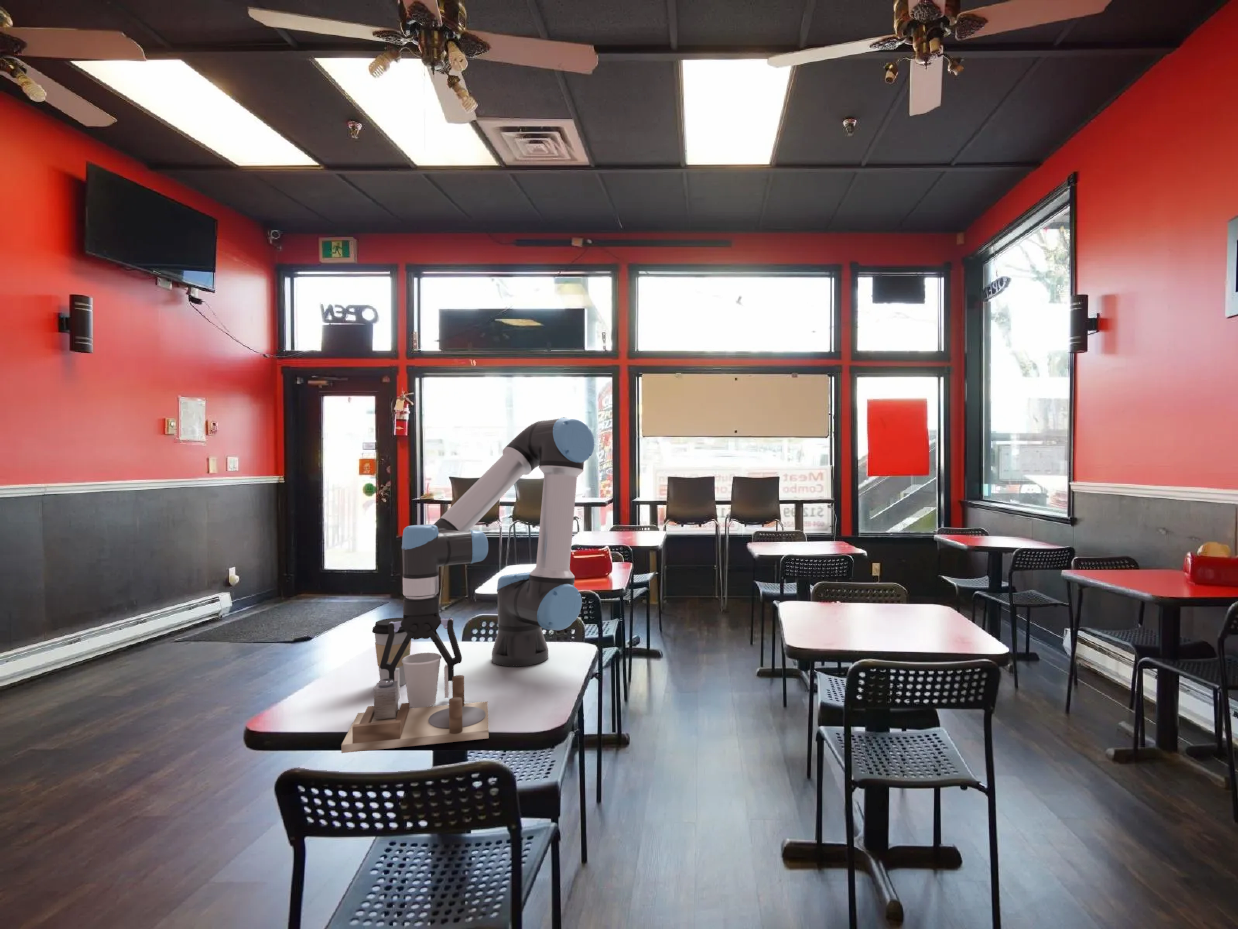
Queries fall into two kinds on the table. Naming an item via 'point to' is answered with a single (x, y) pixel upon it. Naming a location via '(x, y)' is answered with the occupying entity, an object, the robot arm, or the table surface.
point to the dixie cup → (421, 678)
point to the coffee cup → (381, 639)
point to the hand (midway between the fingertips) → (422, 698)
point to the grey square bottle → (386, 699)
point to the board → (420, 724)
